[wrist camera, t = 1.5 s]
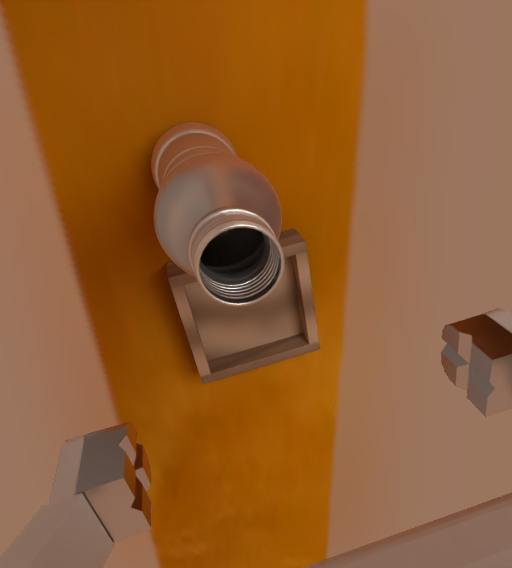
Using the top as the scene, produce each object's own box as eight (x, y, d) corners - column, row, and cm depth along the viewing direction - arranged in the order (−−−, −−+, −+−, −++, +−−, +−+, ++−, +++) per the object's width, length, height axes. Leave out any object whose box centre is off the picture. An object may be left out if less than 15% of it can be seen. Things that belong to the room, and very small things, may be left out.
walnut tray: (166, 263, 37) (167, 278, 35) (294, 228, 39) (305, 241, 36) (199, 365, 43) (202, 384, 41) (309, 332, 45) (319, 349, 42)
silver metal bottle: (191, 217, 36) (233, 363, 19) (131, 155, 33) (116, 263, 15) (249, 167, 35) (349, 271, 18) (194, 98, 32) (252, 144, 14)
